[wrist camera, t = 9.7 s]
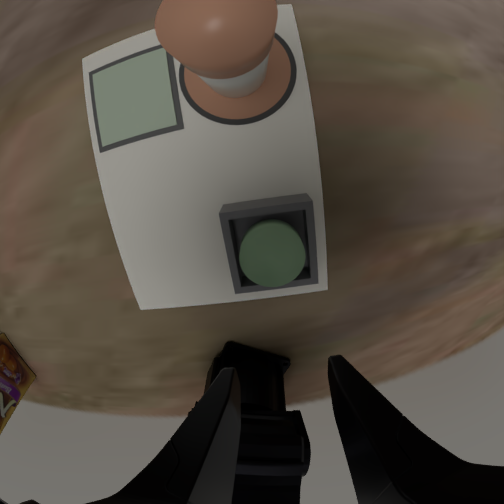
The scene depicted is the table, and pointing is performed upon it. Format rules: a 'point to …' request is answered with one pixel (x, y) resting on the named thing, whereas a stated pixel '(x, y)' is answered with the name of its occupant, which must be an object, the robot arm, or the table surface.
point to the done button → (271, 253)
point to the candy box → (11, 380)
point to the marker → (220, 40)
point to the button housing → (250, 212)
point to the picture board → (197, 162)
